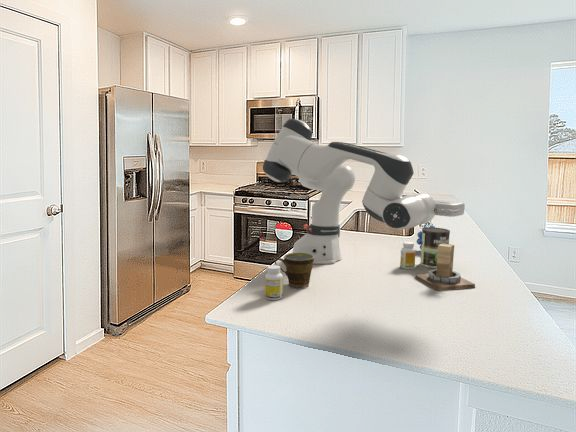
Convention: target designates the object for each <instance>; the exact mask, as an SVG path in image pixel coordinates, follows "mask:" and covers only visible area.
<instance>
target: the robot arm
mask: <svg viewBox="0 0 576 432" xmlns="http://www.w3.org/2000/svg"><path fill="white" fill-rule="evenodd" d="M312 137H313V131H312V128H311V127H310V126H309V125H308V124H307V123H306V122H305V121H303V120H300V119H297V118H290V119H287V120H286V121H285V122H284V124H283V125H282V128H281V129H280V131H279V132H278V134H277V135H276V137H275V138H274V140H273V142H272V145H271V146H270V149H269V151H268V153H267V157H266V158H265V159H264V161H263V163H262V164H263V165H262V171H263V173H264V174H265V175H266V177H268V178H269V179H270V180H272V181H274V182H277V183H285V182H288V181H289V179H291V177H292V176H293V175H294V176H295V177H298V181H299V183H300V184H301V186H303V187H305V188H307V189H309V190H314V191H321V195H320V198H319V199H318V200H317V201H315V202H314V203H312V206H311V223H310V224H309V225H308V224H307V223H306V224H304V225H303V228H304V229H305V230H306V233H305V234H304V235H303V236H301V237H300V238H299V239H298V240H296V241H294V244H293V248H292V253H307V254H311V255H313V256H314V262H313V265H314V264H315V265H317V264H319V265H321V264H325V265H326V264H327V265H329V264H334V263H336V262H338V261H341V260H342V259H343V257H342V254H341V247H340V239H339V238H340V235H341V227H340V223H339V222H340V208H341V203H342V201H343V199H344V196H345V195H346V194H347V193H348V191H350V190H352V188H353V187H354V185H355V183H356V182H355V181H356V175H355V172H354V170H353V168H352V167H351V166H348V165H344V163H345V162H346V161H348V160H352V161H356V162H359V163H364V164H366V165H370V166H372V167H374V172H373V175H372V177H371V179H370V181H369V184H368V186H367V188H366V191H365V192H364V195H363V197H362V200H361V201H362V202H361V203H362V206H363V208H364V210H365V212H366V213H367V215H369V216H370V217H371V218H373V219H375V220H377V221H379V222H381V223H384V224H386V226H387V227H389V228H391V229H394V230H408V229H412V228H414V227H418V226H420V225H423V224H427V223H428V222H431V221H432V220H433V219H434V218H435V216H440V217H441V216H442V217H453V218H454V217H458V216H459V217H460V216H463V215H464V214H465V203H464V202H462V201H451V200H443V199H442V200H440V199H433V197H432V196H431V195H429V194H427V193H424V192H421V193H420V192H418V193H415V194H414V193H413V194H412V193H411V194H408V195H407V194H405V195H404V194H403V193H404V191H405V190H406V187H407V185H408V184H409V182H410V181H411V179H412V178H413V176H414V173H415V172H414V168H413V166H412V162H411V161H410V159H409V158H407V157H405V156H403V155H401V154H396V153H389V152H388V153H387V152H384V151H379V150H375V149H371V148H367V147H364V146H360V145H356V144H352V143H348V142H343V141H342V142H341V141H331V142H330V143H328V144H327V145H321V144H318V143H317V142H314V141H312ZM290 253H291V252H290ZM290 253H288V254H290Z"/></svg>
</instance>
